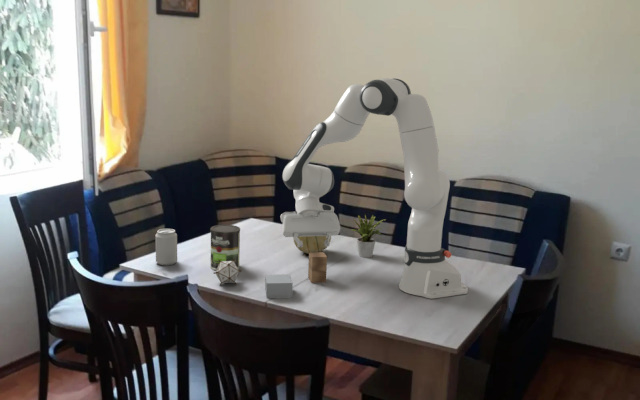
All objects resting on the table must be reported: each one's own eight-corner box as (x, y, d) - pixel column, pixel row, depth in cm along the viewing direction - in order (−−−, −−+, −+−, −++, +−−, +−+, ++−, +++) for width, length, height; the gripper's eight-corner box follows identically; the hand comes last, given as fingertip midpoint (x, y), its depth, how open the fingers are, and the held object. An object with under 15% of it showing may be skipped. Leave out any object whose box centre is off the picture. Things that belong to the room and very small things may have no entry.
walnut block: (322, 277, 218) (323, 252, 217) (326, 282, 214) (327, 256, 212) (308, 278, 217) (309, 252, 215) (311, 283, 213) (312, 257, 211)
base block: (289, 289, 207) (290, 274, 206) (292, 298, 199) (292, 283, 198) (265, 289, 206) (265, 274, 205) (266, 298, 198) (266, 283, 197)
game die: (230, 296, 209) (234, 279, 201) (207, 284, 209) (210, 267, 202) (243, 276, 215) (247, 259, 207) (220, 265, 215) (223, 247, 208)
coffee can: (232, 273, 219) (232, 233, 216) (205, 269, 222) (205, 230, 219) (244, 264, 229) (245, 226, 226) (218, 260, 232) (218, 223, 229)
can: (151, 264, 225) (151, 231, 222) (162, 258, 232) (161, 226, 229) (171, 267, 223) (171, 234, 220) (181, 260, 230) (180, 228, 227)
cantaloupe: (332, 248, 252) (333, 211, 248) (328, 260, 237) (330, 221, 234) (294, 246, 253) (296, 209, 250) (289, 257, 239) (290, 218, 235)
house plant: (383, 263, 235) (386, 220, 232) (346, 260, 237) (348, 218, 234) (385, 252, 249) (388, 211, 246) (350, 249, 251) (352, 209, 248)
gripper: (281, 207, 221) (285, 242, 214) (338, 206, 226) (344, 240, 219) (278, 216, 226) (282, 251, 219) (334, 215, 231) (340, 249, 224)
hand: (314, 246), depth 219 cm, fingers open, 8 cm apart
